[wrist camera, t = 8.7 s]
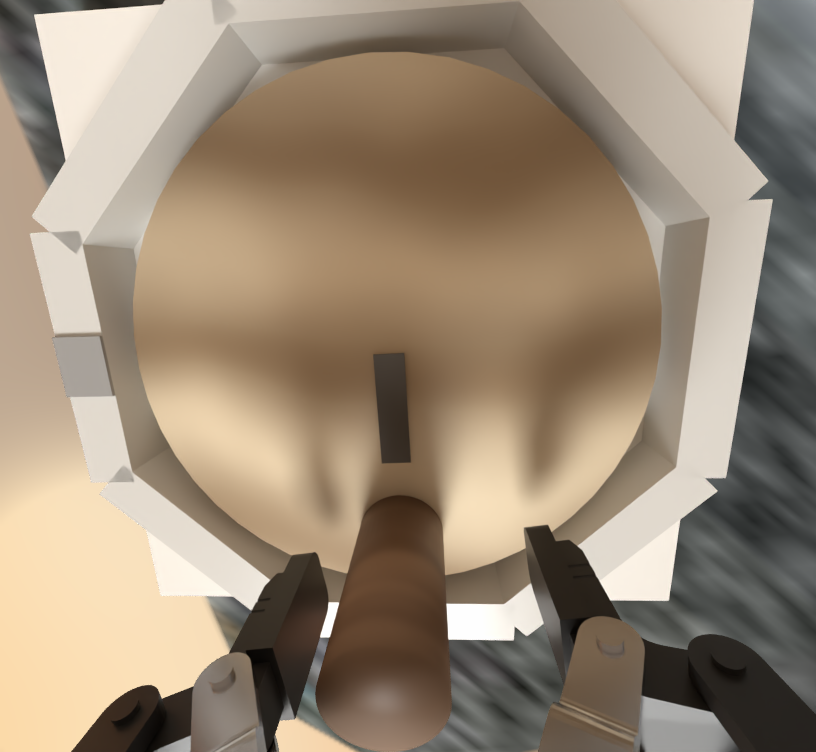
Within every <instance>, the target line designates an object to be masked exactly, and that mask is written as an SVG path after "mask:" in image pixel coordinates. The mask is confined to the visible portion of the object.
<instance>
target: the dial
mask: <svg viewBox="0 0 816 752" xmlns="http://www.w3.org/2000/svg"><path fill="white" fill-rule="evenodd" d="M133 323H134V340H135V346H136V352H137V359H138V365H139V370H140V373H141V377H142V380H143V384H144V387H145V391H146V394H147V398H148V401H149V403H150V405H151V408H152V410H153V413H154V415H155V417H156V420H157V422H158V424H159V427H160V429H161V431H162V433H163V434H164V436H165V438H166V440H167V441H168V443H169V445H170V447H171V448H172V450H173V452H174V454H175V455H176V457H177V458H178V460H179V461H180V462H181V464H182V465H183V466H184V468H185V469H186V471H187V472H188V473H189V475H190V476H191V477H192V479H193V480H194V481H195V483H196V484H197V485H198V486H199V487H200V488H201V489H202V490H203V491H204V492H205V493H206V494H207V495H208V496H209V498H210V499H211V500H212V501H213V502H214V503H215V504H216V505H217V506H218V507H220V508H221V509H222V510H223V511H224V512H225V513H227V514H228V515H229V516H230V517H231V518H232V519H234V520H235V521H236V522H237V523H238V524H240V525H241V526H243V527H244V528H246V529H247V530H248V531H250V532H251V533H253V534H254V535H256V536H257V537H259V538H260V539H262V540H263V541H265V542H267V543H269V544H271V545H273V546H274V547H276V548H278V549H280V550H282V551H284V552H286V553H288V554H290V555H296V554H304V553H312V552H316V553H317V554H318V556H319V560H320V564H321V567H325V568H328V569H332V570H336V571H339V572H343V573H347V576H346V580H345V584H344V587H343V591H342V595H341V598H340V602H339V605H338V609H337V613H336V616H335V620H334V624H333V627H332V631H331V634H330V638H329V642H328V645H327V649H326V653H325V656H324V660H323V663H322V667H321V671H320V674H319V678H318V682H317V685H316V692H315V695H316V703H317V707H318V710H319V713H320V715H321V716H322V718H323V720H324V721H325V723H326V724H327V725H328V726H329V727H330V728H331V729H332V730H333V731H334V732H335V733H336V734H337V735H338V736H340V737H341V738H343V739H344V740H346V741H348V742H350V743H352V744H354V745H356V746H359V747H362V748H365V749H369V750H374V751H381V752H398V751H405V750H409V749H413V748H416V747H418V746H421V745H423V744H425V743H427V742H428V741H430V740H431V739H433V738H434V737H435V736H436V735H437V734H439V733H440V731H441V730H442V729H443V728H444V726H445V725H446V723H447V721H448V719H449V716H450V712H451V705H452V699H451V679H450V660H449V640H448V620H447V601H446V581H445V575H449V574H455V573H460V572H465V571H468V570H472V569H475V568H478V567H482V566H485V565H488V564H491V563H494V562H496V561H499V560H501V559H503V558H506V557H508V556H510V555H512V554H515V553H517V552H519V551H521V550H523V549H525V548H526V546H525V538H524V527H531V526H540V525H548V526H549V528H550V530H551V532H552V531H554V530H555V529H556V528H558V527H559V526H560V525H562V524H563V523H564V522H566V521H567V520H568V519H569V518H571V517H572V516H573V515H574V514H575V513H576V512H577V511H578V510H579V509H580V508H581V507H582V506H583V505H584V504H585V503H586V502H588V501H589V500H590V499H591V498H592V497H593V496H594V495H595V493H596V492H597V491H598V490H599V488H600V487H601V486H602V485H603V484H604V482H605V481H606V480H607V479H608V477H609V476H610V475H611V474H612V472H613V471H614V470H615V468H616V467H617V465H618V463H619V462H620V460H621V459H622V457H623V455H624V454H625V452H626V450H627V449H628V447H629V446H630V444H631V442H632V440H633V438H634V436H635V434H636V431H637V429H638V427H639V425H640V422H641V420H642V418H643V416H644V414H645V411H646V408H647V405H648V401H649V398H650V395H651V392H652V388H653V385H654V382H655V378H656V372H657V366H658V359H659V353H660V347H661V323H662V305H661V296H660V287H659V279H658V271H657V267H656V263H655V259H654V255H653V252H652V248H651V244H650V240H649V236H648V233H647V231H646V229H645V226H644V224H643V221H642V219H641V217H640V214H639V212H638V209H637V207H636V205H635V202H634V200H633V198H632V196H631V195H630V193H629V191H628V190H627V188H626V186H625V185H624V183H623V181H622V180H621V178H620V176H619V175H618V173H617V171H616V170H615V168H614V166H613V165H612V164H611V163H610V162H609V160H608V159H607V158H606V157H605V155H604V154H603V153H602V152H601V151H600V149H599V148H598V147H597V146H596V144H595V143H594V142H593V141H592V140H591V138H590V137H589V136H588V135H587V134H586V133H585V132H584V131H583V130H582V129H580V128H579V127H578V126H577V125H576V124H575V123H574V122H573V121H572V120H571V119H569V118H568V117H567V116H566V115H565V114H564V113H563V112H562V111H561V110H560V109H558V108H557V107H555V106H554V105H552V104H551V103H549V102H548V101H546V100H545V99H543V98H542V97H540V96H539V95H537V94H536V93H534V92H533V91H531V90H530V89H528V88H527V87H525V86H524V85H521V84H519V83H517V82H515V81H513V80H511V79H509V78H507V77H504V76H502V75H500V74H498V73H496V72H494V71H492V70H489V69H487V68H484V67H480V66H477V65H473V64H470V63H467V62H463V61H460V60H456V59H453V58H450V57H443V56H436V55H428V54H421V53H414V52H371V53H362V54H357V55H351V56H345V57H339V58H334V59H328V60H325V61H322V62H319V63H316V64H313V65H310V66H307V67H304V68H301V69H298V70H295V71H292V72H290V73H288V74H286V75H284V76H282V77H280V78H278V79H276V80H274V81H272V82H270V83H268V84H266V85H265V86H263V87H261V88H259V89H257V90H255V91H254V92H252V93H251V94H250V95H248V96H247V97H245V98H244V99H243V100H241V101H240V102H238V103H237V104H236V105H234V106H233V107H232V108H230V109H229V110H227V111H226V112H225V113H224V114H223V115H222V116H221V117H220V118H218V119H217V120H216V121H215V122H214V123H213V124H212V125H211V126H210V127H209V128H208V129H207V130H206V131H205V132H204V133H203V134H202V135H201V136H200V137H199V138H198V139H197V140H196V142H195V143H194V144H193V146H192V147H191V148H190V150H189V151H188V152H187V153H186V155H185V156H184V157H183V159H182V160H181V161H180V163H179V164H178V165H177V167H176V168H175V169H174V171H173V173H172V175H171V177H170V178H169V180H168V182H167V184H166V186H165V187H164V189H163V191H162V193H161V195H160V196H159V198H158V200H157V202H156V205H155V207H154V210H153V213H152V215H151V218H150V220H149V223H148V226H147V228H146V231H145V233H144V237H143V242H142V246H141V250H140V254H139V258H138V263H137V267H136V276H135V286H134V296H133Z"/></svg>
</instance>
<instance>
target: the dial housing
mask: <svg viewBox="0 0 816 752" xmlns="http://www.w3.org/2000/svg"><path fill="white" fill-rule="evenodd" d="M753 3H754V0H165V1H164V3H163V4H162V5H151V6H138V7H126V8H113V9H101V10H88V11H75V12H63V13H50V14H38V15H34V16H35V21H36V26H37V30H38V35H39V39H40V44H41V48H42V53H43V58H44V62H45V67H46V71H47V76H48V81H49V85H50V90H51V94H52V99H53V104H54V108H55V113H56V117H57V122H58V127H59V131H60V136H61V140H62V145H63V150H64V154H65V159H66V162H65V163H64V165H63V167H62V168H61V170H60V171H59V173H58V175H57V176H56V178H55V180H54V181H53V183H52V184H51V186H50V188H49V189H48V191H47V193H46V194H45V196H44V197H43V199H42V201H41V202H40V204H39V206H38V207H37V209H36V210H35V212H34V214H33V215H32V217H33V218H34V219H35V220H36V221H38V222H39V223H40V224H41V225H42V226H43V227H45V228H46V229H47V230H48V231H49V232H44V233H30V236H31V240H32V245H33V249H34V252H35V257H36V261H37V265H38V269H39V273H40V277H41V281H42V285H43V289H44V293H45V297H46V301H47V305H48V309H49V313H50V318H51V321H52V326H53V330H54V334H55V337H53V338H52V339H53V344H54V348H55V352H56V356H57V360H58V364H59V368H60V372H61V376H62V380H63V384H64V388H65V392H66V396H67V397H70V399H71V403H72V407H73V411H74V415H75V419H76V422H77V427H78V431H79V435H80V439H81V443H82V447H83V451H84V455H85V459H86V463H87V467H88V471H89V475H90V480H91V482H109V483H108V484H107V485H106V487H105V488H104V489H103V490H102V492H101V493H100V495H101V496H102V497H104V498H105V499H106V500H108V501H109V502H110V503H111V504H113V505H114V506H116V507H117V508H118V509H119V510H121V511H122V512H123V513H125V514H126V515H127V516H128V517H130V518H131V519H132V520H134V521H135V522H136V523H138V524H139V525H140V526H142V527H143V528H144V529H146V531H147V536H148V540H149V545H150V549H151V554H152V558H153V563H154V567H155V572H156V577H157V581H158V586H159V591H160V595H161V596H162V595H163V596H167V595H168V596H233V597H235V598H236V599H237V600H239V601H240V602H241V603H242V604H244V605H245V606H246V607H248V608H249V609H250V610H252V609H253V607H254V605H255V603H256V602H257V601H258V600H257V599H258V598H259V596H260V594H261V592H262V590H263V588H264V586H265V585H266V584H267V583H268V582H269V581H270V580H271V579H272V578H273V577H274V576H275V575H276V574H277V573H283V572H284V570H285V568H286V566H287V564H288V562H289V560H290V558H291V556H292V555H290V554H288V553H286V552H284V551H282V550H280V549H278V548H276V547H274V546H273V545H271V544H269V543H267V542H265V541H263V540H262V539H260V538H259V537H257V536H256V535H254V534H253V533H251V532H250V531H248V530H247V529H246V528H244V527H243V526H241V525H240V524H238V523H237V522H236V521H235V520H234V519H232V518H231V517H230V516H229V515H228V514H227V513H225V512H224V511H223V510H222V509H221V508H220V507H218V506H217V505H216V504H215V503H214V502H213V501H212V500H211V499H210V498H209V496H208V495H207V494H206V493H205V492H204V491H203V490H202V489H201V488H200V487H199V486H198V485H197V484H196V483H195V481H194V480H193V479H192V477H191V476H190V475H189V473H188V472H187V471H186V469H185V468H184V466H183V465H182V464H181V462H180V461H179V460H178V458H177V457H176V455H175V454H174V452H173V450H172V448H171V447H170V445H169V443H168V441H167V440H166V438H165V436H164V434H163V433H162V431H161V429H160V427H159V424H158V422H157V420H156V417H155V415H154V413H153V410H152V408H151V405H150V403H149V401H148V398H147V394H146V391H145V387H144V384H143V380H142V377H141V373H140V370H139V365H138V359H137V352H136V346H135V340H134V323H133V296H134V286H135V276H136V267H137V263H138V258H139V254H140V250H141V246H142V242H143V237H144V233H145V231H146V228H147V226H148V223H149V220H150V218H151V215H152V213H153V210H154V207H155V205H156V202H157V200H158V198H159V196H160V195H161V193H162V191H163V189H164V187H165V186H166V184H167V182H168V180H169V178H170V177H171V175H172V173H173V171H174V169H175V168H176V167H177V165H178V164H179V163H180V161H181V160H182V159H183V157H184V156H185V155H186V153H187V152H188V151H189V150H190V148H191V147H192V146H193V144H194V143H195V142H196V140H197V139H198V138H199V137H200V136H201V135H202V134H203V133H204V132H205V131H206V130H207V129H208V128H209V127H210V126H211V125H212V124H213V123H214V122H215V121H216V120H217V119H218V118H220V117H221V116H222V115H223V114H224V113H225V112H226V111H227V110H229V109H230V108H232V107H233V106H234V105H236V104H237V103H238V102H240V101H241V100H243V99H244V98H245V97H247V96H248V95H250V94H251V93H252V92H254V91H255V90H257V89H259V88H261V87H263V86H265V85H266V84H268V83H270V82H272V81H274V80H276V79H278V78H280V77H282V76H284V75H286V74H288V73H290V72H292V71H295V70H298V69H301V68H304V67H307V66H310V65H313V64H316V63H319V62H322V61H325V60H328V59H334V58H339V57H345V56H351V55H357V54H362V53H371V52H414V53H421V54H428V55H436V56H443V57H450V58H453V59H456V60H460V61H463V62H467V63H470V64H473V65H477V66H480V67H484V68H487V69H489V70H492V71H494V72H496V73H498V74H500V75H502V76H504V77H507V78H509V79H511V80H513V81H515V82H517V83H519V84H521V85H524V86H525V87H527V88H528V89H530V90H531V91H533V92H534V93H536V94H537V95H539V96H540V97H542V98H543V99H545V100H546V101H548V102H549V103H551V104H552V105H554V106H555V107H557V108H558V109H560V110H561V111H562V112H563V113H564V114H565V115H566V116H567V117H568V118H569V119H571V120H572V121H573V122H574V123H575V124H576V125H577V126H578V127H579V128H580V129H582V130H583V131H584V132H585V133H586V134H587V135H588V136H589V137H590V138H591V140H592V141H593V142H594V143H595V144H596V146H597V147H598V148H599V149H600V151H601V152H602V153H603V154H604V155H605V157H606V158H607V159H608V160H609V162H610V163H611V164H612V165H613V166H614V168H615V170H616V171H617V173H618V175H619V176H620V178H621V180H622V181H623V183H624V185H625V186H626V188H627V190H628V191H629V193H630V195H631V196H632V198H633V200H634V202H635V205H636V207H637V209H638V212H639V214H640V217H641V219H642V221H643V224H644V226H645V229H646V231H647V233H648V236H649V240H650V244H651V248H652V252H653V255H654V259H655V263H656V267H657V271H658V279H659V287H660V296H661V305H662V323H661V347H660V353H659V359H658V366H657V372H656V378H655V382H654V385H653V388H652V392H651V395H650V398H649V401H648V405H647V408H646V411H645V414H644V416H643V418H642V420H641V422H640V425H639V427H638V429H637V431H636V434H635V436H634V438H633V440H632V442H631V444H630V446H629V447H628V449H627V450H626V452H625V454H624V455H623V457H622V459H621V460H620V462H619V463H618V465H617V467H616V468H615V470H614V471H613V472H612V474H611V475H610V476H609V477H608V479H607V480H606V481H605V482H604V484H603V485H602V486H601V487H600V488H599V490H598V491H597V492H596V493H595V495H594V496H593V497H592V498H591V499H590V500H589V501H588V502H586V503H585V504H584V505H583V506H582V507H581V508H580V509H579V510H578V511H577V512H576V513H575V514H574V515H573V516H572V517H571V518H569V519H568V520H567V521H566V522H564V523H563V524H562V525H560V526H559V527H558V528H556V529H555V530H554V531H552V534H553V536H554V538H555V540H556V541H562V540H570V541H572V542H573V543H574V544H575V545H577V546H578V547H579V548H580V549H582V550H583V552H584V554H585V556H586V557H587V559H588V561H589V563H590V566H591V567H592V568H593V570H594V572H595V574H596V577H598V579H599V581H600V583H601V585H602V586H603V588H604V590H605V592H606V594H607V595H608V597H609V599H610V600H644V601H669V595H670V587H671V580H672V573H673V566H674V559H675V552H676V545H677V538H678V531H679V524H680V519H681V518H683V517H684V516H685V515H687V514H688V513H689V512H691V511H692V510H693V509H695V508H696V507H697V506H699V505H700V504H701V503H702V502H704V501H705V500H706V499H708V498H709V497H710V496H712V495H713V494H714V493H716V492H717V490H716V489H715V488H714V487H713V486H712V485H711V484H710V483H709V482H708V481H707V480H706V479H705V478H726V474H727V468H728V462H729V457H730V451H731V445H732V439H733V433H734V427H735V421H736V415H737V409H738V403H739V397H740V391H741V385H742V379H743V373H744V367H745V361H746V355H747V349H748V343H749V338H750V332H751V326H752V320H753V314H754V308H755V302H756V296H757V290H758V284H759V278H760V272H761V266H762V260H763V254H764V248H765V242H766V236H767V230H768V224H769V219H770V213H771V207H772V201H773V199H766V200H748V199H750V198H751V197H752V196H753V195H754V194H755V193H756V192H757V191H758V190H759V189H760V188H761V187H762V186H764V185H765V184H766V183H767V182H768V180H767V179H766V178H765V176H764V175H763V174H762V173H761V172H760V171H759V169H758V168H757V167H756V166H755V165H754V163H753V162H752V161H751V160H750V159H749V158H748V156H747V155H746V154H745V153H744V152H743V150H742V149H741V148H740V147H739V146H738V144H737V143H736V142H735V141H734V137H735V130H736V123H737V116H738V109H739V102H740V95H741V88H742V81H743V74H744V67H745V59H746V52H747V45H748V38H749V31H750V24H751V17H752V10H753ZM322 571H323V575H324V579H325V583H326V586H327V590H328V598H329V604H328V612H327V615H326V619H325V622H324V625H323V629H322V632H321V635H320V637H330V634H331V631H332V627H333V624H334V620H335V616H336V613H337V609H338V605H339V602H340V598H341V595H342V591H343V587H344V584H345V580H346V576H347V573H343V572H339V571H336V570H332V569H328V568H325V567H322ZM445 581H446V601H447V620H448V639H464V640H514V626H515V627H516V628H518V629H519V630H520V631H521V632H522V633H523V634H525V635H526V636H528V635H529V634H530V633H532V632H533V631H534V630H536V629H537V628H538V627H540V626H541V625H542V624H544V623H543V620H542V616H541V613H540V610H539V607H538V604H537V601H536V598H535V595H534V592H533V589H532V585H531V580H530V575H529V570H528V562H527V554H526V548H525V549H523V550H521V551H519V552H517V553H515V554H512V555H510V556H508V557H506V558H503V559H501V560H499V561H496V562H494V563H491V564H488V565H485V566H482V567H478V568H475V569H472V570H468V571H465V572H460V573H455V574H449V575H445Z"/></svg>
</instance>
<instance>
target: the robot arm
mask: <svg viewBox="0 0 816 752" xmlns="http://www.w3.org/2000/svg"><path fill="white" fill-rule="evenodd" d="M524 538H525V546H526V554H527V562H528V570H529V575H530V580H531V585H532V589H533V592H534V595H535V598H536V601H537V604H538V607H539V610H540V613H541V616H542V620H543V623H544V626H545V629H546V632H547V635H548V638H549V641H550V644H551V647H552V650H553V653H554V656H555V659H556V662H557V666H558V669H559V672H560V675H561V678H562V681H563V684H564V688H563V692H562V696H561V699H560V702H559V703H557V702H553V703H552V705H551V707H550V710H549V713H548V716H547V720H546V724H545V728H544V731H543V735H542V739H541V742H540V746H539V750H538V752H816V714H815V713H814V712H813V711H812V710H811V709H810V708H809V707H808V706H807V705H806V704H805V703H804V702H803V701H802V700H801V699H800V697H799V696H798V695H797V694H796V693H795V692H794V691H793V690H792V689H791V688H790V687H789V686H788V685H787V684H786V683H785V682H784V681H783V680H782V679H781V678H780V677H779V675H778V674H777V673H776V672H775V671H774V670H773V669H772V668H771V667H770V666H769V665H768V664H767V663H766V662H765V661H764V660H763V659H762V658H761V657H760V656H759V655H758V654H757V653H756V652H755V651H753V650H752V649H751V648H749V647H748V646H746V645H744V644H743V643H741V642H739V641H737V640H734V639H731V638H729V637H725V636H721V635H714V634H707V635H701V636H698V637H696V638H694V639H693V640H692V641H691V642H690V643H689V646H688V650H684V649H679V648H673V647H668V646H663V645H658V644H655V643H652V642H649V641H647V640H645V639H643V638H641V637H640V636H639V634H638V633H637V632H636V631H635V630H634V629H633V628H632V627H631V626H629V625H628V624H626V623H625V622H623V621H622V620H621V619H620V617H619V615H618V613H617V612H616V610H615V608H614V606H613V604H612V603H611V601H610V599H609V597H608V595H607V594H606V592H605V590H604V588H603V586H602V585H601V583H600V581H599V579H598V577H596V574H595V572H594V570H593V568H592V567H591V566H590V563H589V561H588V559H587V557H586V556H585V554H584V552H583V550H582V549H580V548H579V547H578V546H577V545H575V544H574V543H573V542H572V541H570V540H562V541H556V540H555V538H554V536H553V534H552V532H551V530H550V528H549V526H548V525H540V526H531V527H524ZM257 600H258V601H257V602H256V603H255V605H254V607H253V609H252V613H251V614H249V616H248V618H247V620H246V622H245V624H244V626H243V628H242V630H241V631H240V633H239V635H238V637H237V639H236V641H235V643H234V645H233V646H232V648H231V650H230V652H229V654H227V655H225V656H222V657H220V658H219V659H217V660H215V661H214V662H212V663H211V664H210V665H209V666H208V667H207V668H206V669H205V670H204V671H203V672H202V673H201V674H200V676H199V677H198V679H197V680H196V682H195V684H194V686H193V687H191V688H189V689H186V690H183V691H181V692H178V693H175V694H173V695H170V696H168V697H165V698H163V699H162V698H161V696H160V694H159V691H158V689H157V688H156V687H154V686H152V685H145V686H140V687H137V688H135V689H132V690H130V691H128V692H127V693H125V694H124V695H122V696H120V697H119V698H118V699H116V700H115V701H114V702H113V703H112V704H111V705H110V706H109V707H107V708H106V710H105V711H104V712H103V713H102V714H101V715H100V717H99V718H98V719H97V720H96V722H95V723H94V724H93V725H92V727H91V728H90V729H89V730H88V732H87V733H86V734H85V735H84V737H83V738H82V739H81V740H80V742H79V743H78V744H77V745H76V747H75V748H74V749H73V750H72V752H279V748H278V743H277V739H276V736H275V733H276V730H277V727H278V724H279V721H280V720H292V719H295V718H296V714H297V711H298V708H299V704H300V701H301V698H302V694H303V691H304V688H305V685H306V681H307V678H308V675H309V671H310V668H311V665H312V662H313V658H314V655H315V652H316V648H317V645H318V642H319V638H320V635H321V632H322V629H323V625H324V622H325V619H326V615H327V612H328V604H329V598H328V590H327V586H326V583H325V579H324V575H323V571H322V567H321V564H320V560H319V556H318V554H317V553H316V552H312V553H304V554H296V555H292V556H291V558H290V560H289V562H288V564H287V566H286V568H285V570H284V572H283V573H277V574H276V575H275V576H274V577H273V578H272V579H271V580H270V581H269V582H268V583H267V584H266V585H265V586H264V588H263V590H262V592H261V594H260V596H259V598H258V599H257Z"/></svg>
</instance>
